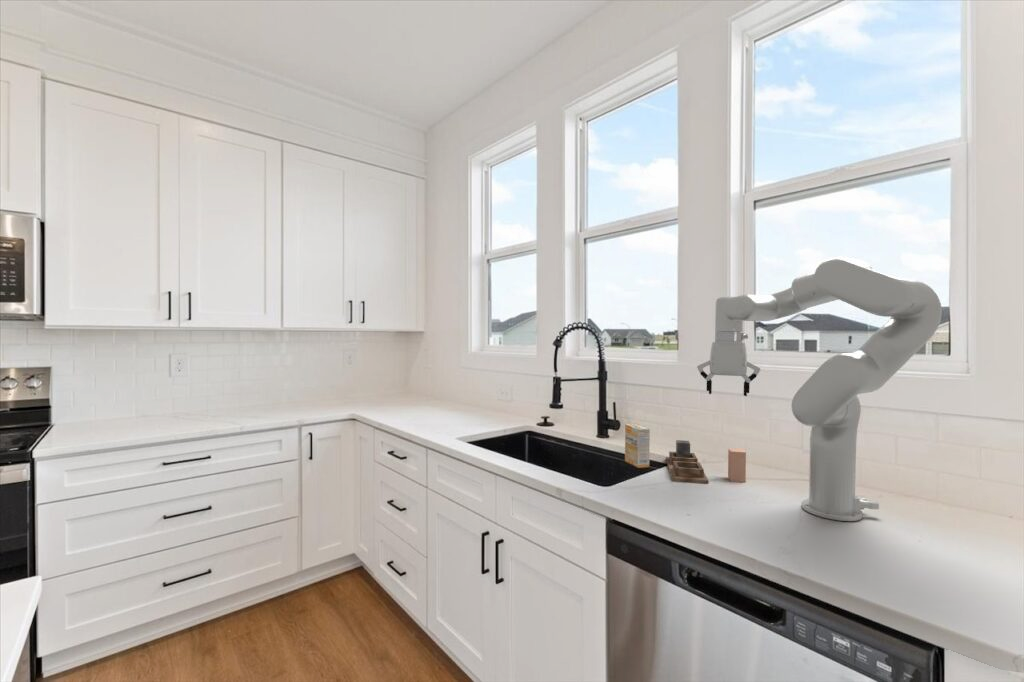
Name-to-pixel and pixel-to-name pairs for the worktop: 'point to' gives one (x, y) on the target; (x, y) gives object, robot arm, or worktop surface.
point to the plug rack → (685, 464)
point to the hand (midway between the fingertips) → (727, 394)
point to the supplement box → (637, 445)
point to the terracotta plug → (736, 465)
